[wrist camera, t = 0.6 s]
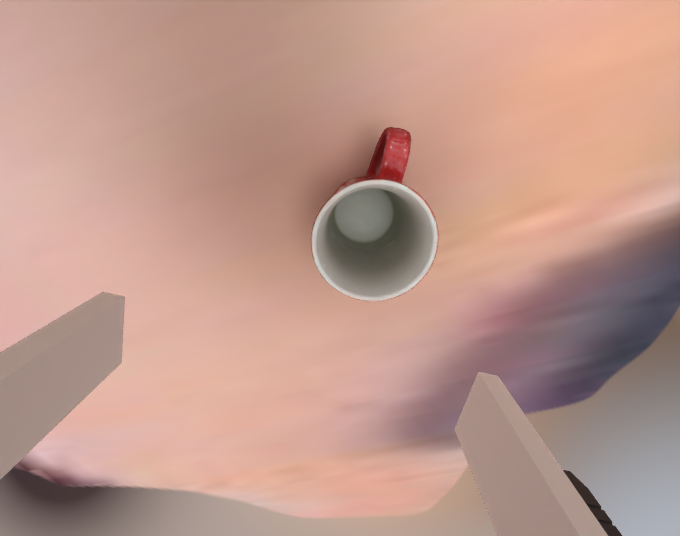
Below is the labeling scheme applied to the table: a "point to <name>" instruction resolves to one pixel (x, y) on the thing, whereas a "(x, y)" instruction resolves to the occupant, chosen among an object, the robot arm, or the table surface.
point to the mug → (376, 228)
